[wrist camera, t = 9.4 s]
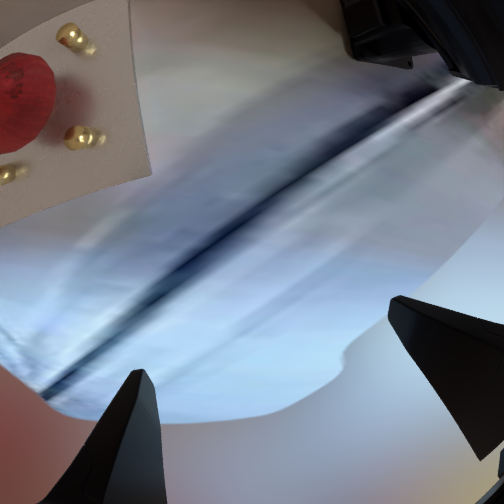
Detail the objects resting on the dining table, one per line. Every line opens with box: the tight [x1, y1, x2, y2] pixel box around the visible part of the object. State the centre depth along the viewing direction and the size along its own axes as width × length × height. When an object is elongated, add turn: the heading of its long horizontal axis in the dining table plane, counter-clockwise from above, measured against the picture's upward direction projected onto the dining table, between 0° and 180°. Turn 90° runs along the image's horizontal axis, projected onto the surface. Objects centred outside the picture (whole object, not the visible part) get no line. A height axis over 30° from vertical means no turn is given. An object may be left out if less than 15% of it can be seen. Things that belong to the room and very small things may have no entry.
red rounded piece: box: [0, 52, 56, 154], centre depth 8 cm, size 6×6×8 cm
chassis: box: [0, 0, 152, 228], centre depth 11 cm, size 14×14×4 cm
